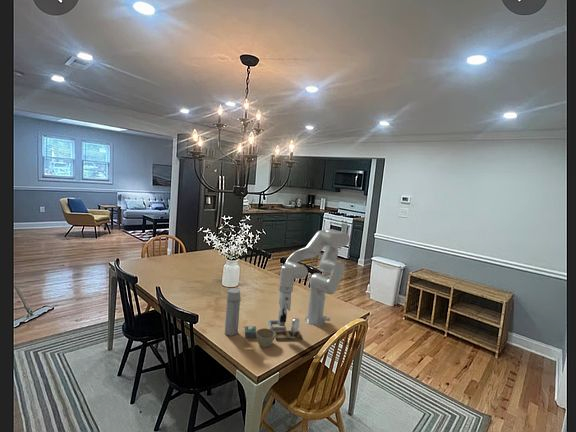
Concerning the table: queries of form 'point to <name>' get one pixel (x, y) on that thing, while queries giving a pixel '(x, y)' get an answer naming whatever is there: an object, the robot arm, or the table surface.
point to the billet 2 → (294, 327)
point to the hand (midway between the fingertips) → (282, 319)
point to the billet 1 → (279, 318)
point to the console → (250, 332)
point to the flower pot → (265, 337)
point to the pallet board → (286, 335)
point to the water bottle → (232, 311)
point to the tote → (275, 327)
